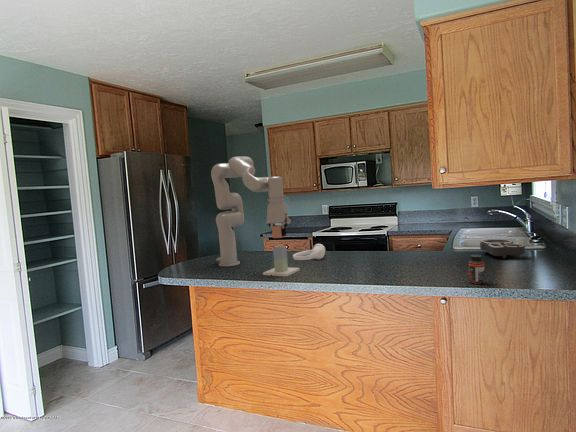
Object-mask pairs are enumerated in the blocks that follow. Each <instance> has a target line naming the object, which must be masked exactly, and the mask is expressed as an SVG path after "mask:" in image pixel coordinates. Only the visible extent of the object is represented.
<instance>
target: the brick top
mask: <svg viewBox="0 0 576 432" xmlns="http://www.w3.org/2000/svg"><path fill="white" fill-rule="evenodd" d="M281 229H282V226H281V224H275V226H272V229H271V235H272V237H271V238H272V239H282V238H286V236H287V235H286V236H282V231H281Z"/></svg>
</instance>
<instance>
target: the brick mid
mask: <svg viewBox="0 0 576 432" xmlns="http://www.w3.org/2000/svg"><path fill="white" fill-rule="evenodd" d="M287 251H288V250H287V246H275V247H272V252H273V253H272V255H273V256H272V257H273V261H274V260H283V259H286V258H287V259H288V253H287Z"/></svg>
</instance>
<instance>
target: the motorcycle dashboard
mask: <svg viewBox="0 0 576 432" xmlns="http://www.w3.org/2000/svg"><path fill="white" fill-rule="evenodd" d="M479 248H480V250H481V251H486V253H488V255H492V256H494V257H501V258H503V260H506V258H507V257H508V256H512V257H514V256H517V257H519V256H523V255H524V254H525V253H526V245H524V244H522V243H514V241H513V240H510V239H505V238H490V239H485V240H482V241H481V242H479Z"/></svg>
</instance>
